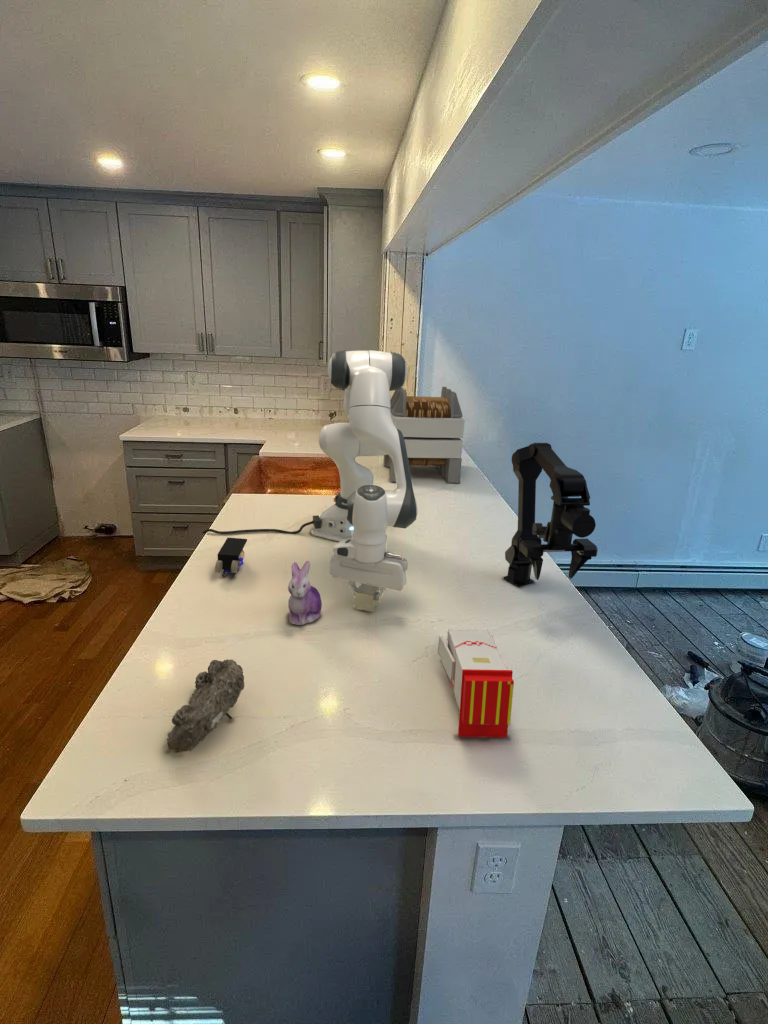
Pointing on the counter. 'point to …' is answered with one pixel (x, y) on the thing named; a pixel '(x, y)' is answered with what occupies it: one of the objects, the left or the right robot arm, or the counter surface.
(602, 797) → the counter surface
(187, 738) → the fossil
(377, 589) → the beige cube
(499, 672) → the toy
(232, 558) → the figurine character
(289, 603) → the figurine
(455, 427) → the transformer
